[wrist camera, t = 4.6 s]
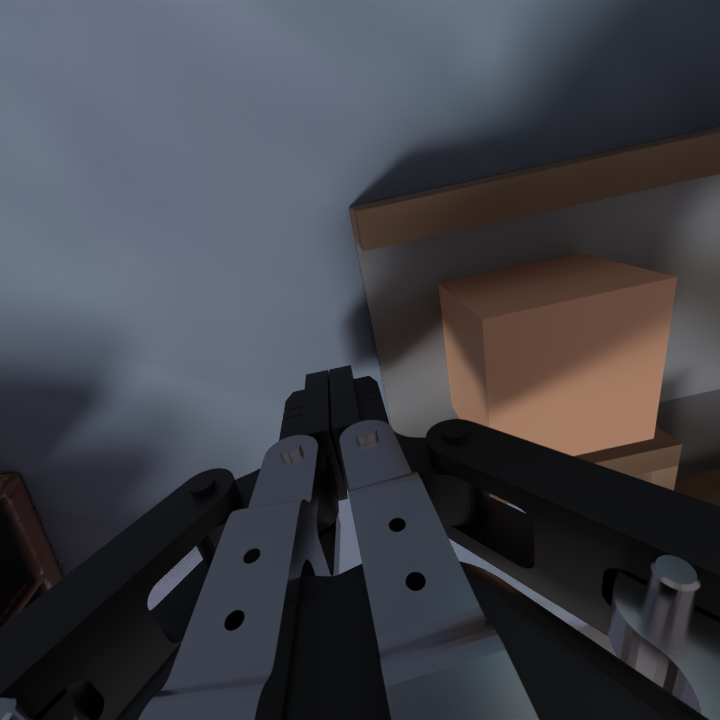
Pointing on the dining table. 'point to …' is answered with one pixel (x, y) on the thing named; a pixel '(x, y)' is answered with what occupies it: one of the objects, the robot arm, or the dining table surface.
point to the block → (560, 350)
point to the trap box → (549, 241)
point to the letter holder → (22, 550)
